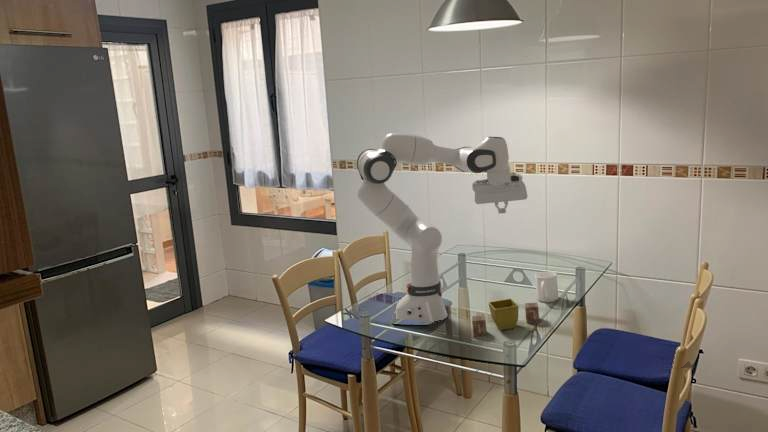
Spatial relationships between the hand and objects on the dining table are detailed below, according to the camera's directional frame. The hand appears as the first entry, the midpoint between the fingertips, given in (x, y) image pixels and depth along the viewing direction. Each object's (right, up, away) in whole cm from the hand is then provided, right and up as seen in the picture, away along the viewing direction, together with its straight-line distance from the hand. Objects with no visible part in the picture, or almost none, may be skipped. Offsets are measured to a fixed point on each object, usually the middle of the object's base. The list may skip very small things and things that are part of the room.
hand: (502, 213), depth 228 cm
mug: (+18, -35, +4) cm, 40 cm away
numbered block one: (-12, -43, -20) cm, 49 cm away
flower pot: (-2, -42, -17) cm, 45 cm away
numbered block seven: (+8, -40, -14) cm, 43 cm away
